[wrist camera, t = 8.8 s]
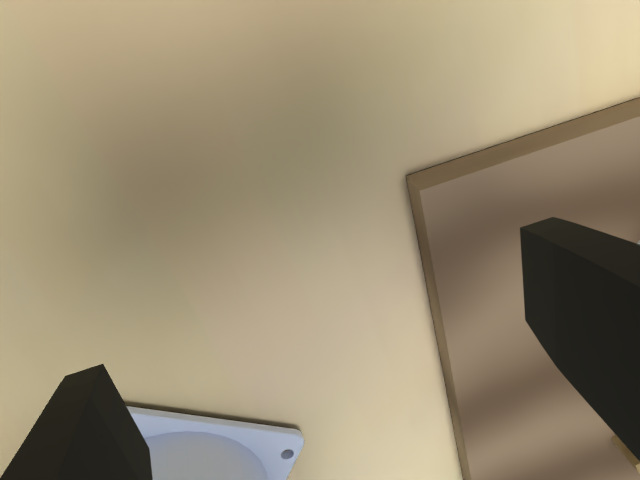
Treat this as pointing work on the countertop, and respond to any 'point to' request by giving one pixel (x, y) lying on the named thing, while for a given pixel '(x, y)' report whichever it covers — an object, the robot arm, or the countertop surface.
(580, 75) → the countertop surface
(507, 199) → the gear board
